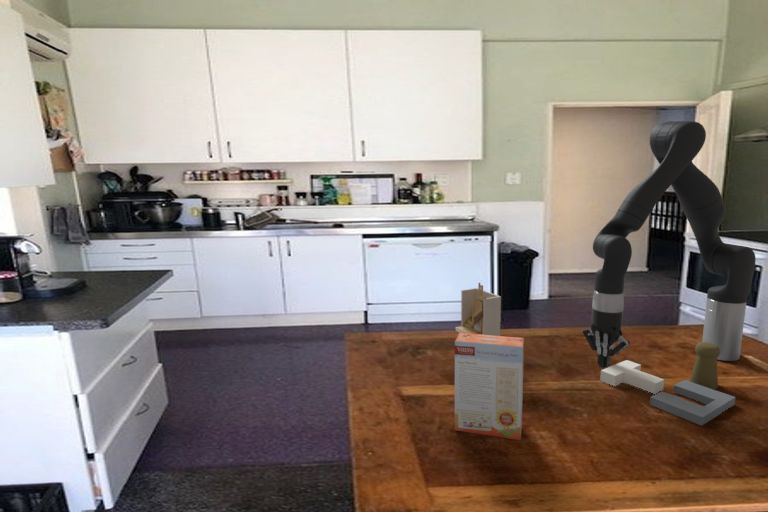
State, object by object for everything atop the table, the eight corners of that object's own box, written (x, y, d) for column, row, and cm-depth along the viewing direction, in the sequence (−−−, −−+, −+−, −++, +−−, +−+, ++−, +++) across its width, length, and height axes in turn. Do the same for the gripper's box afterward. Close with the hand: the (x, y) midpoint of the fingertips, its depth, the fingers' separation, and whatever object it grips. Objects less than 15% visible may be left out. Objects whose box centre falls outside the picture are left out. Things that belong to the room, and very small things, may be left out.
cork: (723, 390, 113) (727, 348, 111) (696, 388, 114) (700, 347, 113) (711, 379, 119) (715, 340, 117) (685, 378, 120) (689, 338, 118)
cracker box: (521, 426, 99) (525, 336, 95) (520, 442, 94) (524, 347, 90) (458, 417, 104) (459, 330, 100) (453, 431, 98) (454, 340, 94)
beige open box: (474, 355, 139) (475, 275, 135) (499, 369, 129) (501, 283, 124) (453, 360, 136) (453, 278, 131) (477, 375, 126) (478, 287, 121)
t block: (600, 380, 120) (600, 370, 119) (625, 369, 126) (626, 359, 126) (645, 399, 110) (646, 387, 109) (671, 386, 116) (672, 375, 115)
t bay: (649, 404, 107) (650, 397, 107) (683, 387, 115) (684, 379, 115) (701, 425, 98) (702, 417, 98) (734, 404, 106) (735, 397, 106)
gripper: (639, 310, 119) (634, 372, 122) (593, 299, 130) (590, 356, 133) (623, 316, 115) (618, 379, 118) (577, 304, 126) (574, 362, 129)
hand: (603, 367), depth 125 cm, fingers closed
